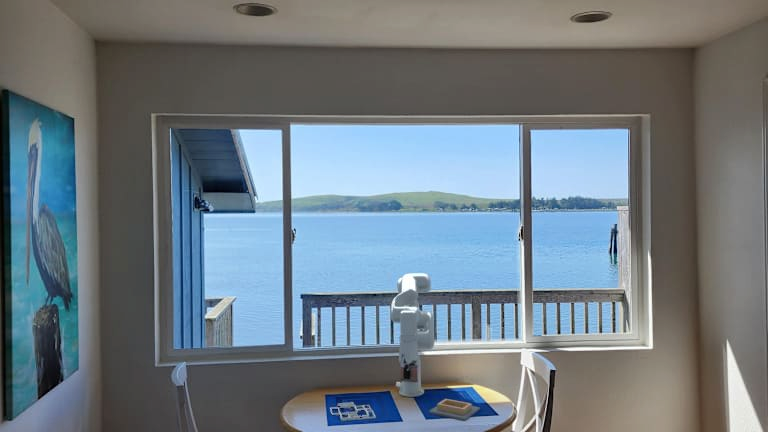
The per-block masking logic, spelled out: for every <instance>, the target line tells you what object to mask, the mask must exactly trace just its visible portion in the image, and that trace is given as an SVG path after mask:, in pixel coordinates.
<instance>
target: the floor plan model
mask: <svg viewBox="0 0 768 432" xmlns="http://www.w3.org/2000/svg"><path fill="white" fill-rule="evenodd" d="M338 406H340V407H338ZM365 406H367V407H365ZM351 407H353V409H354V411H345V412H341V411H340V410H341V409H340V408H344V409H352V408H351ZM332 409H338V410H337V412H335V413H333V410H332ZM361 410H364V412H365V413H366V414H362V416H361V415H358V414H359V412H362V411H361ZM329 412H330V414H332V415H336V416H339V415H340V416H339V418H340V421H341V422H345V421H346V422H347V420H348V421H356V420H358V421H359V420H369V419H371V420H372V419H376V418H377V416H376V415H375V413H374V410H373V409H372V408H371V406H370V404H363V405H356V404H355V403H354V402H353V401H350V402H341V403H340V402H339V403H337V406H335V407H329ZM369 412H370V413H369ZM357 413H358V414H357ZM370 414H371V415H372V416H370ZM332 415H331V416H332ZM342 415H345V416H347V415H348V416H347V417H343V416H342ZM360 417H362V418H360Z"/></svg>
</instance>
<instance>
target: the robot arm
mask: <svg viewBox="0 0 768 432" xmlns="http://www.w3.org/2000/svg"><path fill="white" fill-rule="evenodd" d="M396 286H397V287H396V289H397V292H398V294H397V295H396V296H395V297H394V298H393V299H392V301H391V304H390V312H389V313H390V314H389V315H390V320H391V322H393V323H396V324H400V325H399V326H400V327H399V329H400V334H399V337H398V339H399V350H398V362H399V364H400V368H401V367H402V368H403V370H404V379H410V370H409V367H410V363H412V362H413V361H414V360H415V364H417V365H418V382H404V381H401V382H400V381H396V383H395V387H396V388H399V390H398V394H399V395H401V396H403V397H408V398H409V397H411V398H413V397H414V398H415V397H420V396H422V395H424V393H425V390H424V388H422V382H421V357H420V355H419V351H421V350H422V351H424V350H425V351H426V350H432V349H433V348H434V346H435V323H434V321H435V320H434V315H433V313H432V312H431V311H430V310H421V309H420V307H419V306H420V305H419V301H418V298H419V293H420V294H426V293H427V294H428V293H429V292H430V291H431V287H432V283H431V278H430V275H428V274H427V273H406V274H403V276H402V277H400V278H399V279H398V280H397V282H396ZM405 362H406V363H405ZM405 365H407V366H405Z"/></svg>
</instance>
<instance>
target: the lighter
mask: <svg viewBox="0 0 768 432" xmlns="http://www.w3.org/2000/svg"><path fill="white" fill-rule="evenodd" d="M405 363H406V362H405ZM405 366H407V365H405ZM409 370H410V379H404V370H403V368H402V367H401V366H400V377H401V378H400V381H401V382H402V381H404V382H418V365H417V364H415V360H414V361H413V362H412V363H410V367H409Z"/></svg>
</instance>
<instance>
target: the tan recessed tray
mask: <svg viewBox="0 0 768 432" xmlns="http://www.w3.org/2000/svg"><path fill="white" fill-rule="evenodd" d="M480 409H481V407H479V406H474V405H473V403H470V402H465V401H460V400H455V399H448V398H444V399H442V400H441V401H439V402H438V403H437V404H436V406H435V407H433V408H431V409H430V410H428V414H430V415H436V416H440V417H444V418H450V419H455V420H460V421H465V422H466V421H467V420H468V419H470V418H471V417H473V416H474V415H475V414H476V413H477V412H478V411H480Z"/></svg>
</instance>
